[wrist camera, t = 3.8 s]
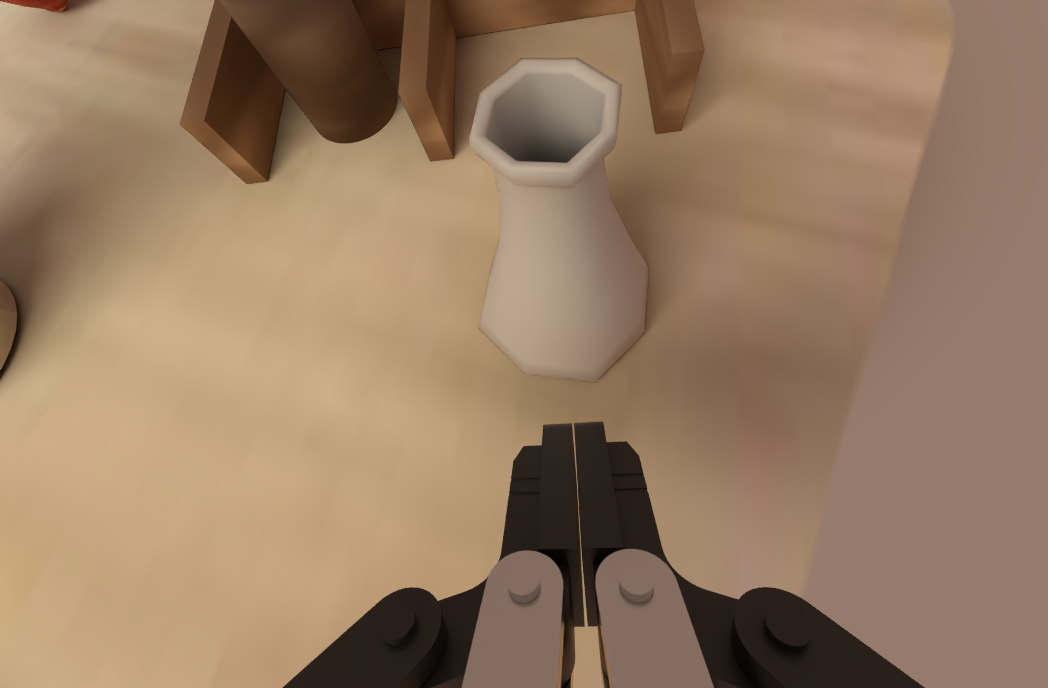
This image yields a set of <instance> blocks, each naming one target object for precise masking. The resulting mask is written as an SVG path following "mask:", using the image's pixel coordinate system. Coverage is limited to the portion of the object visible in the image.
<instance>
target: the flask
mask: <svg viewBox="0 0 1048 688" xmlns="http://www.w3.org/2000/svg"><path fill="white" fill-rule="evenodd" d="M621 94H622V85H621V84H620V83H618V82H616V81H615V80H613V79H611V78H610V77H608V76H607V75H605V74H603V73H602V72H600V71H598V70H597V69H595V68H594V67H592V66H590V65H589V64H587V63H585V62H584V61H582V60H580V59H579V58H521V59H520V60H518V61H517V62H516V63H515V64H514V65H512V66H511V67H510V68H509V69H508V70H507V71H505V72H504V73H503V74H502V75H501V76H499V77H498V78H497V79H496V80H495V81H494V82H492V83H491V84H490V85H489V86H488V87H486V88H485V89H484V90H483V91H482V92H481V93H480V95H479V100H478V104H477V108H476V112H475V116H474V120H473V125H472V129H471V133H470V137H469V141H470V146H471V148H472V150H473V151H474V152H475V154H476V155H477V156H478V157H480V158H481V159H482V160H483V161H485V162H486V163H487V164H488V165H490V166H491V167H492V169H493V173H494V177H495V181H496V185H497V188H498V192H499V196H500V238H499V241H498V245H497V248H496V251H495V254H494V257H493V261H492V265H491V269H490V275H489V280H488V285H487V290H486V295H485V300H484V305H483V310H482V315H481V320H480V325H479V330H480V331H481V332H482V333H484V334H485V335H486V336H487V337H488V338H489V339H490V340H491V341H492V342H493V343H494V344H495V345H496V346H497V347H498V348H499V349H500V350H501V351H502V352H503V353H504V354H505V355H506V356H507V357H508V358H509V359H510V360H511V361H512V362H513V363H514V364H515V365H516V366H517V367H518V368H519V369H520V370H521V371H522V372H523V373H524V374H529V375H538V376H546V377H554V378H562V379H570V380H578V381H586V382H594V383H596V382H597V380H598V379H599V378H600V377H601V376H602V375H603V374H604V373H605V372H606V371H607V370H608V369H609V368H610V367H611V366H612V365H613V364H614V363H615V362H616V361H617V360H618V359H619V358H620V357H621V356H622V355H623V354H624V353H625V352H626V351H627V350H628V349H629V348H630V347H631V346H632V345H633V344H634V343H635V342H636V341H637V340H638V339H639V338H640V337H641V336H642V335H643V334H644V327H645V314H646V301H647V289H648V276H649V269H648V267H647V265H646V263H645V261H644V260H643V258H642V256H641V255H640V253H639V251H638V250H637V248H636V246H635V245H634V243H633V242H632V240H631V238H630V236H629V234H628V232H627V230H626V228H625V226H624V224H623V222H622V220H621V218H620V216H619V214H618V212H617V210H616V208H615V206H614V204H613V202H612V200H611V196H610V191H609V185H608V180H607V174H606V169H605V164H604V158H605V157H606V156H607V155H608V154H609V153H610V152H611V151H612V150H613V148H614V146H615V143H616V138H617V129H618V120H619V111H620V103H621Z"/></svg>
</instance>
